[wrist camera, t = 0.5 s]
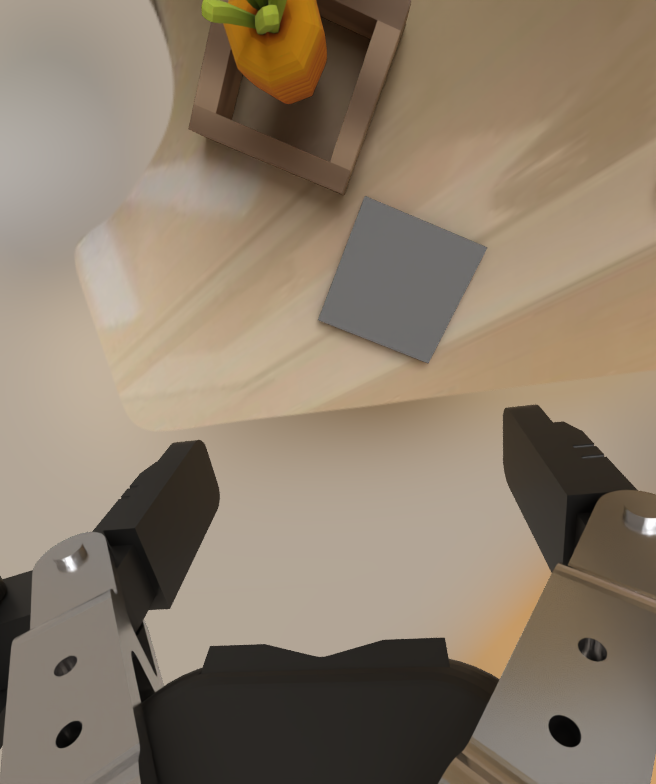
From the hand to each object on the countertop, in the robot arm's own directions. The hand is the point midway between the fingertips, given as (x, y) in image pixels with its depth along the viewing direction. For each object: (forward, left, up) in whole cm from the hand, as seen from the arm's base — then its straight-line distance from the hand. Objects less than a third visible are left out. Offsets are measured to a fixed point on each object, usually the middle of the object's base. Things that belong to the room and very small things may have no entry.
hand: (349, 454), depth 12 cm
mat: (-2, +3, -26) cm, 26 cm away
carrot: (-12, -9, -26) cm, 30 cm away
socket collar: (-12, -9, -26) cm, 30 cm away
